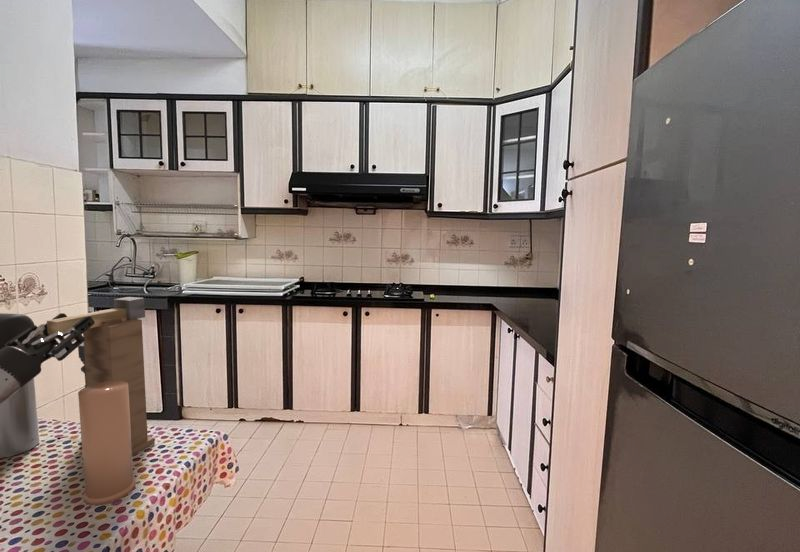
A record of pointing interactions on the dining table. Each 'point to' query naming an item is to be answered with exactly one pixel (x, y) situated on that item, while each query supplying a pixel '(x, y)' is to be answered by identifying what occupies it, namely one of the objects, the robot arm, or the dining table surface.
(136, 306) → the mallet
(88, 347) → the stand
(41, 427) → the dining table surface
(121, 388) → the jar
